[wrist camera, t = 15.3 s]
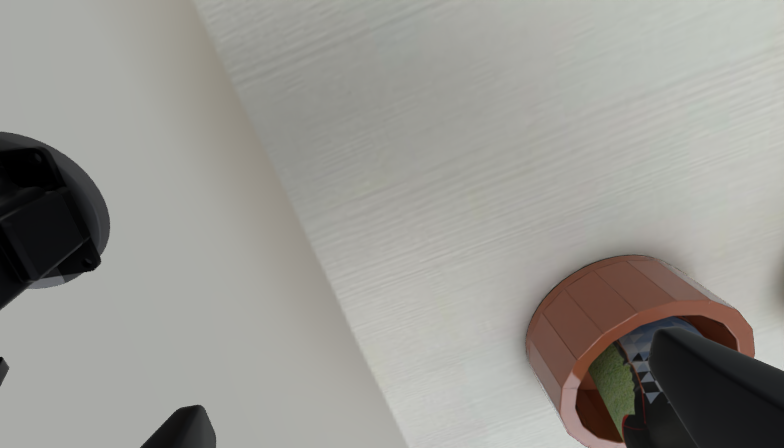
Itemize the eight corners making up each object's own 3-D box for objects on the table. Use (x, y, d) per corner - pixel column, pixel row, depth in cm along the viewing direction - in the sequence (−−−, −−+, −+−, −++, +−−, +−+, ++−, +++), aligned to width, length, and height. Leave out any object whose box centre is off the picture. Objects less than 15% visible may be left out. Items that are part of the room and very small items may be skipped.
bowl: (522, 404, 28) (553, 467, 24) (528, 268, 23) (568, 318, 19) (671, 378, 28) (727, 435, 24) (705, 241, 24) (781, 283, 20)
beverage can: (684, 323, 26) (938, 535, 15) (588, 392, 27) (754, 630, 16) (635, 264, 23) (895, 467, 12) (533, 344, 25) (684, 585, 14)
